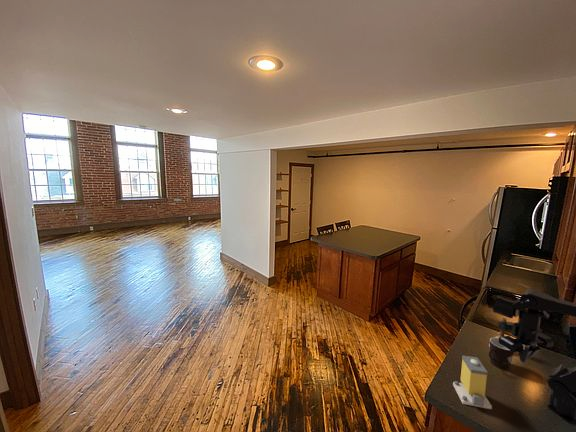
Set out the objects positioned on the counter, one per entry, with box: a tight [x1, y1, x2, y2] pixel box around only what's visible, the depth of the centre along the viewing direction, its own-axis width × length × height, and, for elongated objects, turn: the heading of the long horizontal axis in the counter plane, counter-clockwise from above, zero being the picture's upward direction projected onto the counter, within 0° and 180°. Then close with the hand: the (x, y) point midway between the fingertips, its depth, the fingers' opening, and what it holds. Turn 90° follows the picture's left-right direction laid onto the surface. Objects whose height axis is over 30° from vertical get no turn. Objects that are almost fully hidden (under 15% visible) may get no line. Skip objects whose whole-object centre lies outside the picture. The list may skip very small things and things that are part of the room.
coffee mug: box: [488, 337, 515, 371], centre depth 110 cm, size 12×9×10 cm
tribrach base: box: [452, 380, 493, 410], centre depth 94 cm, size 9×11×4 cm
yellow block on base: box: [460, 355, 489, 397], centre depth 93 cm, size 5×8×13 cm, turn 166°
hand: (522, 361), depth 95 cm, fingers closed
